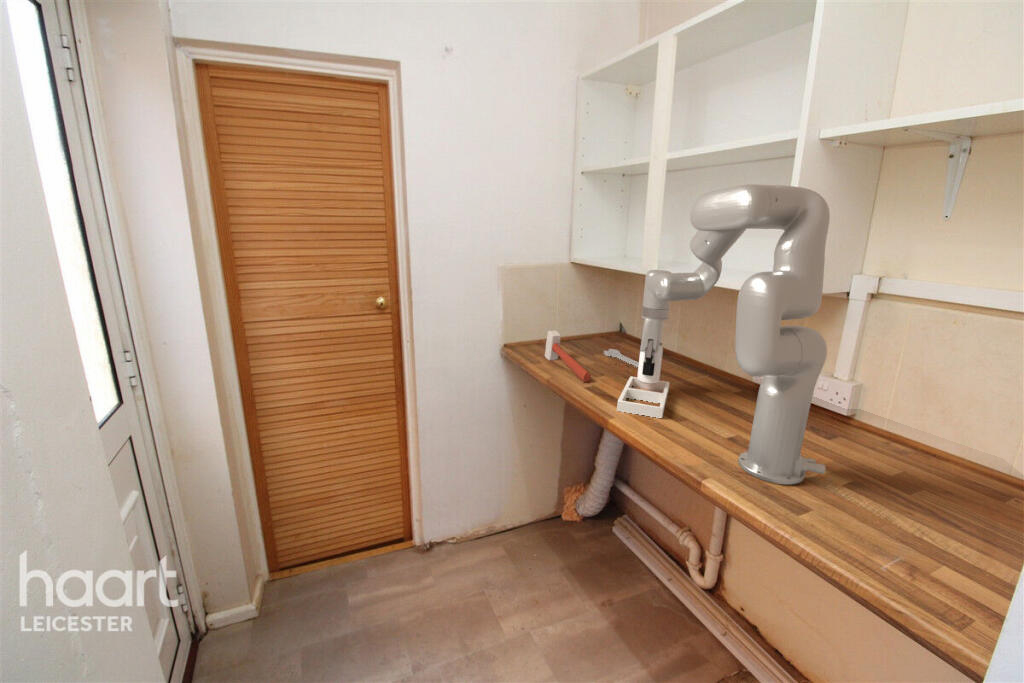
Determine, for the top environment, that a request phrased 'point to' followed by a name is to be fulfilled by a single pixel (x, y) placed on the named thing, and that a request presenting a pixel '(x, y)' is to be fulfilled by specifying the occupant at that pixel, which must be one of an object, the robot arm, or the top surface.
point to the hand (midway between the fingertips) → (648, 372)
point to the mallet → (563, 356)
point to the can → (657, 368)
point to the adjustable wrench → (620, 356)
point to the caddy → (643, 397)
